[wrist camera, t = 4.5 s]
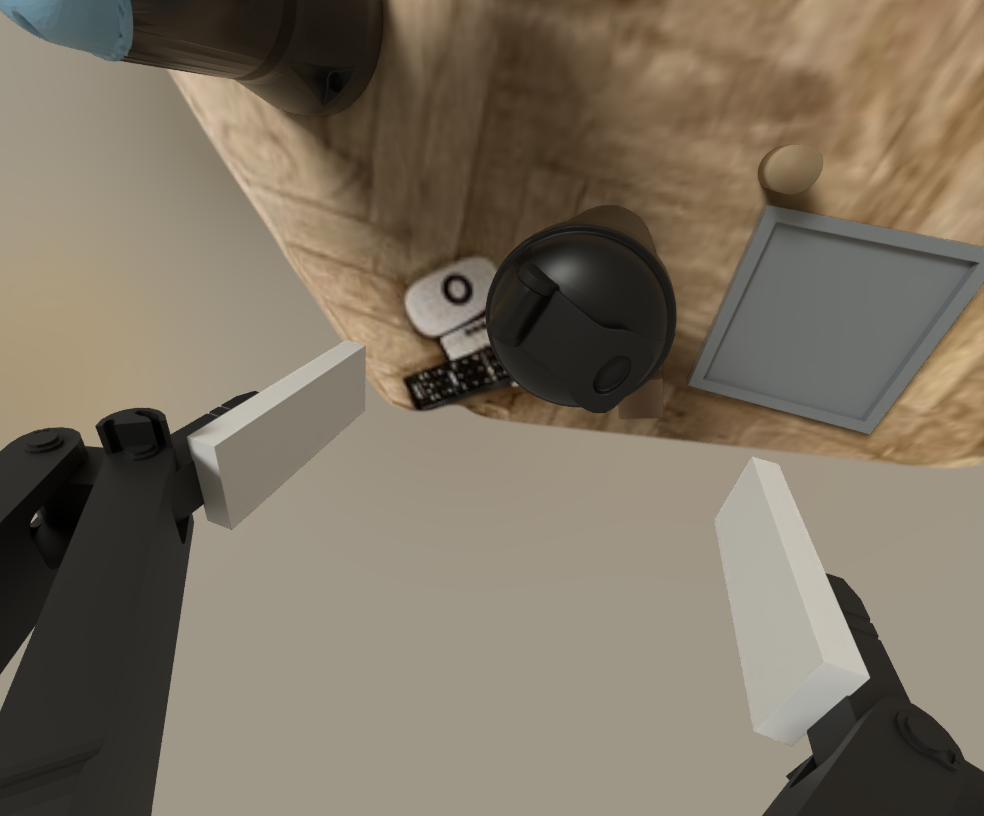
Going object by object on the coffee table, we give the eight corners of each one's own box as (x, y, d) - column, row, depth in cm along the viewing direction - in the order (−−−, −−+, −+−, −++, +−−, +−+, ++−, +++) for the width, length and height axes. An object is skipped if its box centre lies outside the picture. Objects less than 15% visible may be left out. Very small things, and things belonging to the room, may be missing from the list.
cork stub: (750, 186, 35) (763, 189, 31) (769, 142, 33) (784, 140, 30) (791, 193, 35) (808, 198, 31) (811, 149, 33) (832, 148, 29)
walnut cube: (621, 399, 47) (619, 418, 43) (619, 364, 45) (617, 381, 42) (662, 398, 45) (663, 417, 42) (661, 362, 44) (663, 379, 40)
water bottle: (615, 331, 43) (591, 469, 24) (527, 272, 43) (434, 365, 24) (690, 237, 38) (735, 321, 19) (590, 169, 38) (532, 184, 18)
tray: (686, 379, 44) (687, 385, 43) (764, 203, 35) (768, 205, 34) (864, 427, 41) (870, 434, 40) (994, 248, 33) (1006, 251, 32)
